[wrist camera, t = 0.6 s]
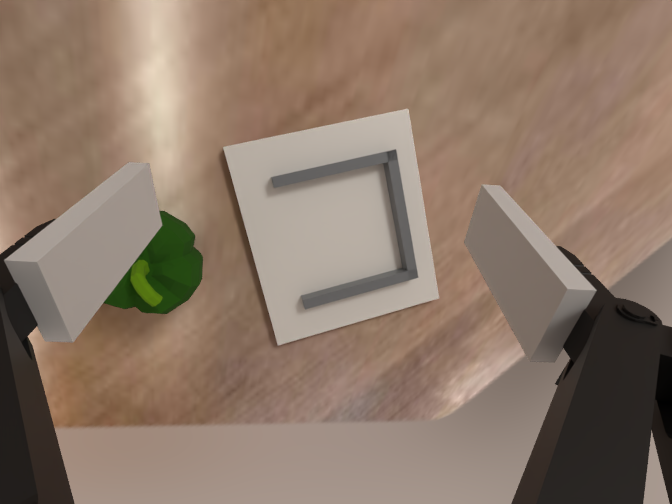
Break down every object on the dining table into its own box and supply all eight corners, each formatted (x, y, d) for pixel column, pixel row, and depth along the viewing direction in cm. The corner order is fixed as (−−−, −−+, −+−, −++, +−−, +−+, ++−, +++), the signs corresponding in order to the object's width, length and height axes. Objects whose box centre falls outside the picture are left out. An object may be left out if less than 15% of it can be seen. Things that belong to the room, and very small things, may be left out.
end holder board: (224, 148, 35) (221, 145, 32) (403, 110, 38) (414, 105, 35) (277, 340, 40) (278, 351, 37) (434, 294, 42) (445, 302, 40)
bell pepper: (101, 219, 34) (39, 235, 24) (192, 196, 35) (168, 203, 26) (134, 304, 36) (90, 349, 26) (220, 279, 37) (207, 314, 28)
